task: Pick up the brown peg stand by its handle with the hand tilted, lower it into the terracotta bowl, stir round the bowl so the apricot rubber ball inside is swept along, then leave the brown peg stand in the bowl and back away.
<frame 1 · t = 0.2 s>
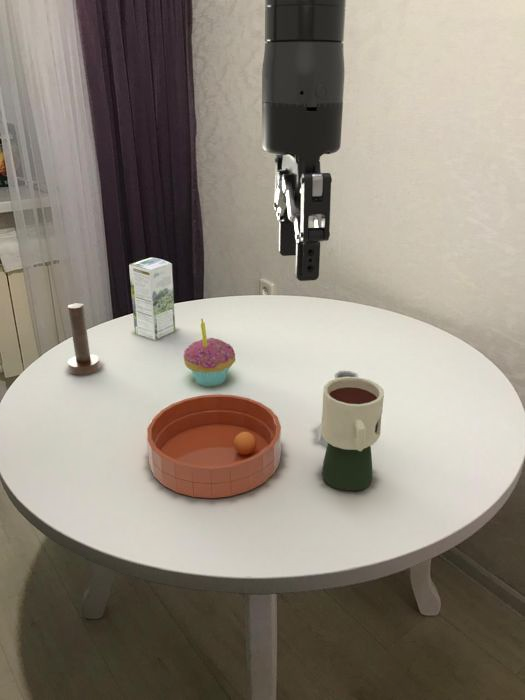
hand: (297, 266, 61), 28 cm above the table, tool pointing down, fingers open, 8 cm apart
brown peg stand: (85, 370, 101), on the table
character mug: (346, 481, 75), on the table
cupcake: (210, 381, 98), on the table
ball: (245, 443, 78), point 2 cm above the table, touching bowl
flask: (342, 439, 83), on the table
syrup box: (155, 334, 116), on the table
bowl: (215, 459, 78), on the table
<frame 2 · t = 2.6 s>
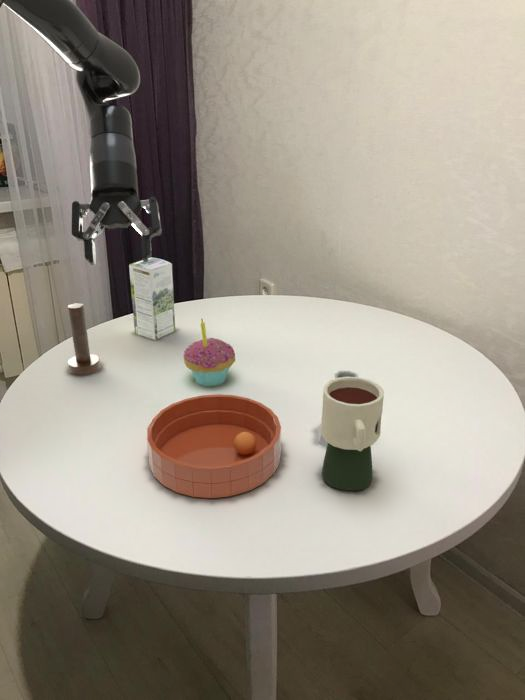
hand: (119, 262, 96), 18 cm above the table, tool tilted 35°, fingers open, 8 cm apart
nothing on the table moved.
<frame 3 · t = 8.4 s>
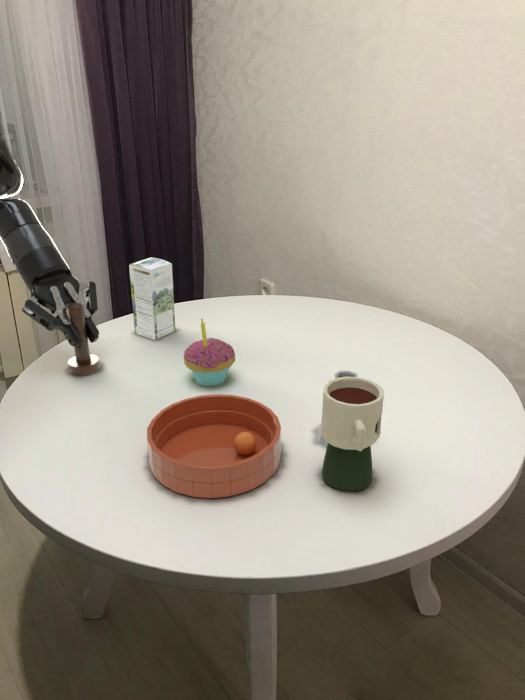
hand: (87, 342, 98), 6 cm above the table, tool tilted 45°, fingers closed on brown peg stand, 2 cm apart
brown peg stand: (85, 370, 101), on the table, touching gripper
everything else where it was.
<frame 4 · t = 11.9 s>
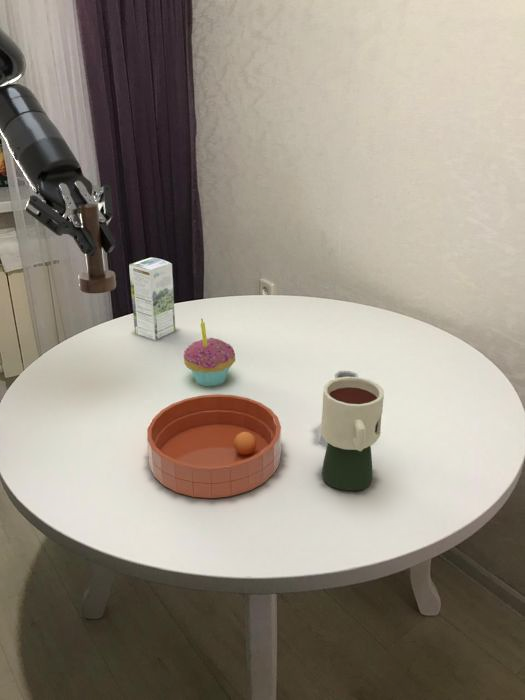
hand: (102, 250, 83), 24 cm above the table, tool tilted 45°, fingers closed on brown peg stand, 2 cm apart
brown peg stand: (98, 287, 87), point 18 cm above the table, touching gripper
everything else where it was.
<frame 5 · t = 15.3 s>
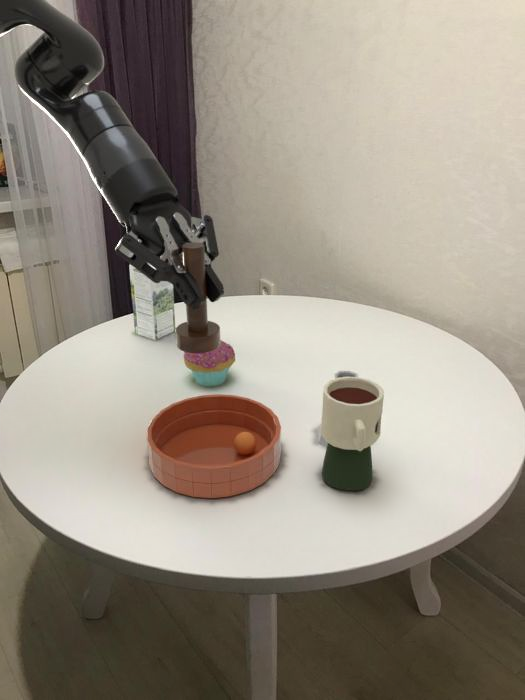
hand: (208, 301, 66), 23 cm above the table, tool tilted 45°, fingers closed on brown peg stand, 2 cm apart
brown peg stand: (198, 343, 70), point 17 cm above the table, touching gripper
everything else where it was.
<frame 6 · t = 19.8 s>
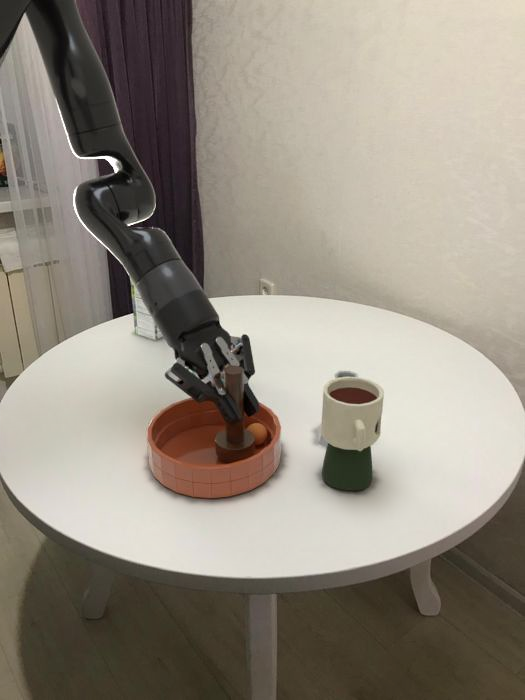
hand: (246, 417, 74), 7 cm above the table, tool tilted 45°, fingers closed on brown peg stand, 2 cm apart
brown peg stand: (235, 451, 78), point 1 cm above the table, touching ball, gripper
ball: (256, 434, 80), point 2 cm above the table, tilted 91°, touching bowl, brown peg stand
everything else where it was.
when the fingers open (7 cm above the table, at t = 22.3 s): brown peg stand stays where it is, resting on bowl.
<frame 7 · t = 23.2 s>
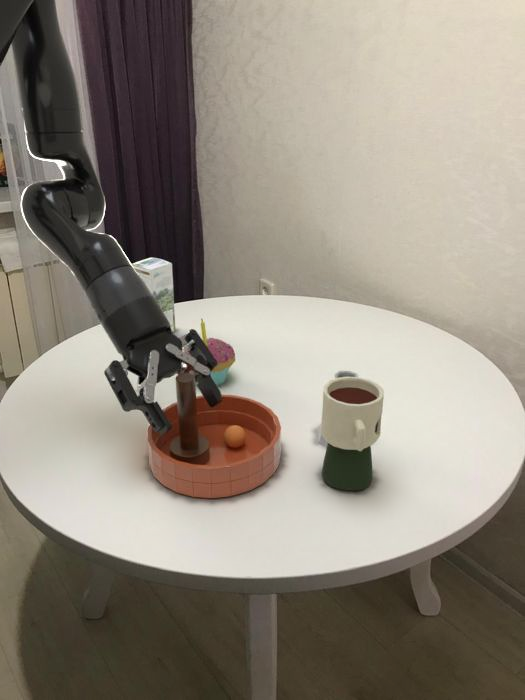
hand: (193, 417, 74), 7 cm above the table, tool tilted 45°, fingers open, 8 cm apart
brown peg stand: (190, 457, 78), point 1 cm above the table, touching bowl
ball: (234, 436, 80), point 2 cm above the table, tilted 62°, touching bowl
everything else where it was.
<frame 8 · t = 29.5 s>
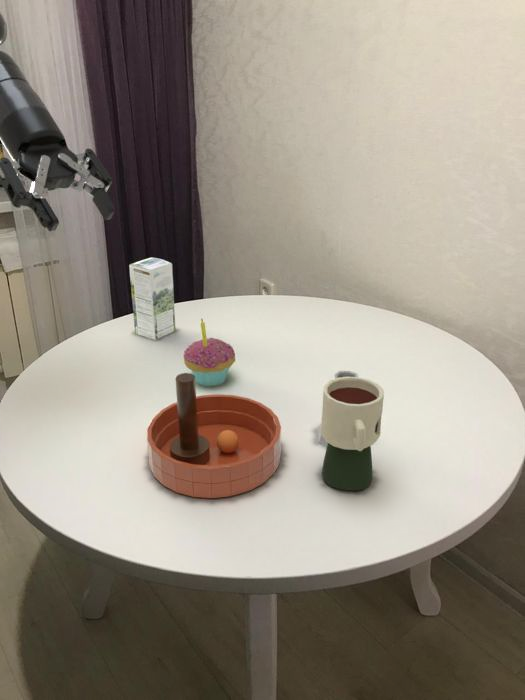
hand: (83, 221, 78), 29 cm above the table, tool tilted 45°, fingers open, 8 cm apart
ball: (227, 441, 78), point 2 cm above the table, tilted 93°, touching bowl
everything else where it was.
at the end: ball moved 2.4 cm from its start; ball inside the target area in the bowl (2.0 cm from its centre), point 2.1 cm above the bowl's base; brown peg stand inside the target area in the bowl (3.3 cm from its centre), point 0.6 cm above the bowl's base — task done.
